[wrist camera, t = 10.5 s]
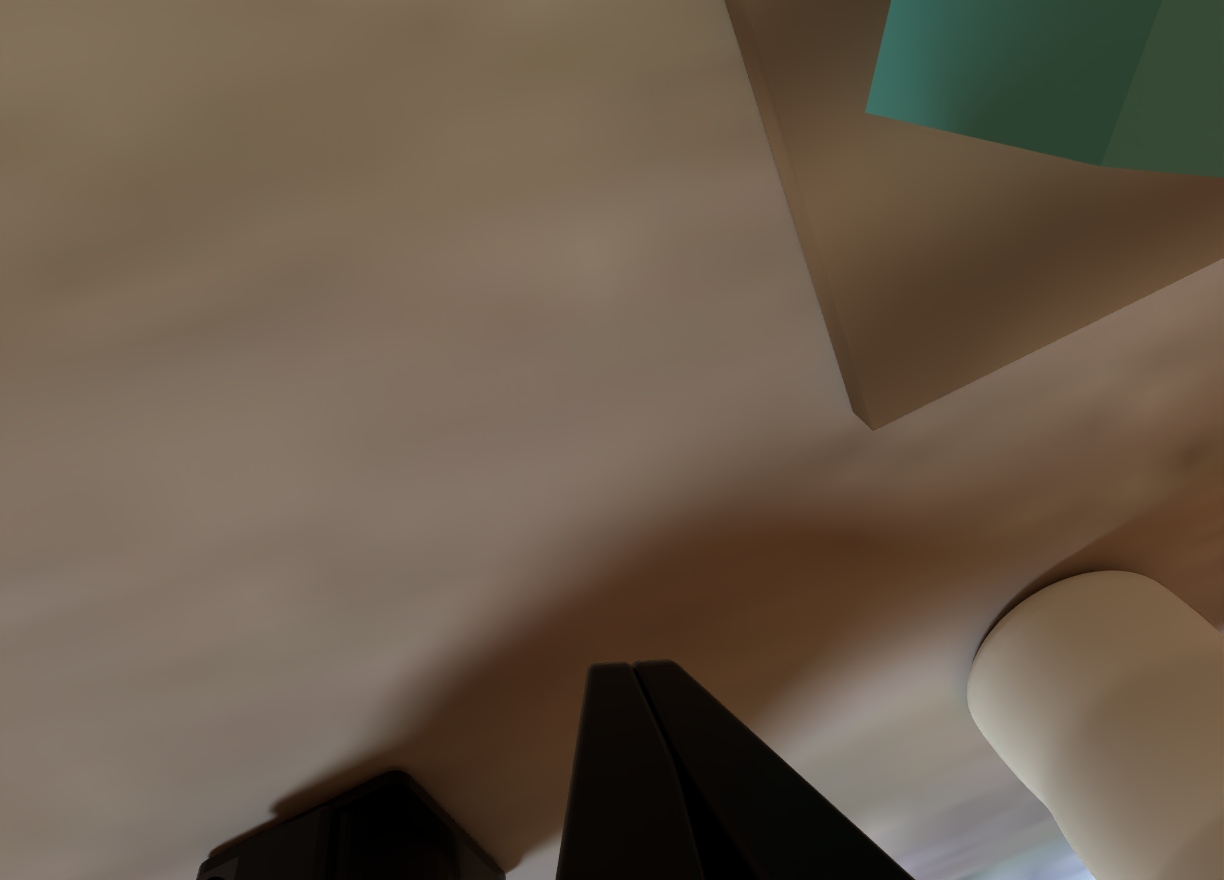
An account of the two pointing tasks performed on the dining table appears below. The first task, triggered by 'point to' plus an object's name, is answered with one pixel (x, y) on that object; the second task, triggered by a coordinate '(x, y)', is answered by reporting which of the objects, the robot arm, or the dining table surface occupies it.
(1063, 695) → the water bottle
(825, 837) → the robot arm
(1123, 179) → the keyed post base
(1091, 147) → the teal drawer cube
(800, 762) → the dining table surface
